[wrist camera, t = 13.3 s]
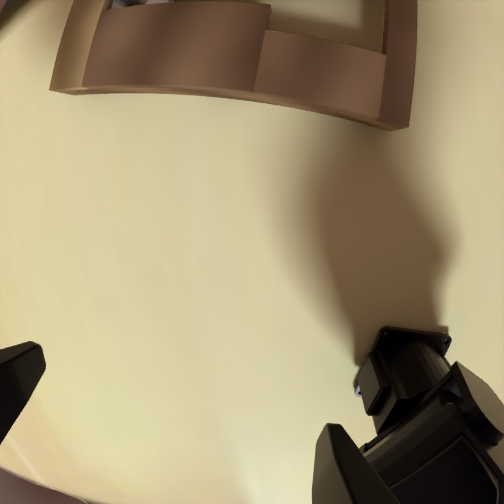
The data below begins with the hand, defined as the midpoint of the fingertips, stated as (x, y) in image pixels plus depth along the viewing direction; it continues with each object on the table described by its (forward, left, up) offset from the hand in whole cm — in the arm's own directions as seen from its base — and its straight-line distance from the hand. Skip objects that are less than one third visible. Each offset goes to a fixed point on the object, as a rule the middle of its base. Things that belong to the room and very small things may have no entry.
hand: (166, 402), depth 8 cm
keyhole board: (+3, -17, -13) cm, 22 cm away
